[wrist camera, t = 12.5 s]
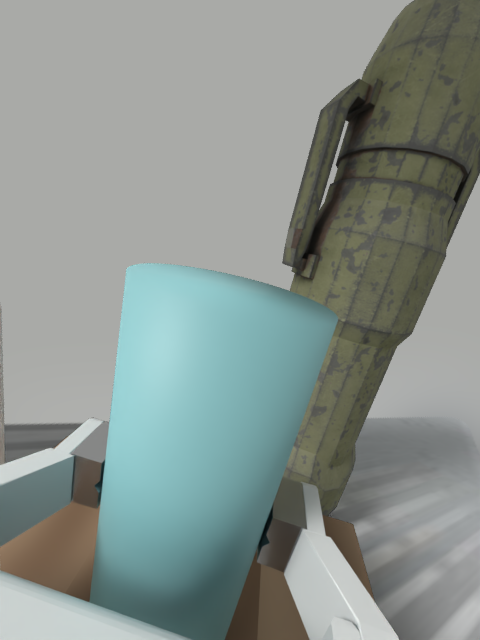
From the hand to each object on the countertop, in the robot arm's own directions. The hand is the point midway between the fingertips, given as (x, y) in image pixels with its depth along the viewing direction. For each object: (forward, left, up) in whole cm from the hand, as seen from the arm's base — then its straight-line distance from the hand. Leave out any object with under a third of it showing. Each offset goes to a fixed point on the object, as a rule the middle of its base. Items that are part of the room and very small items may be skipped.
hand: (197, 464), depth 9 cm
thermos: (+11, +10, -13) cm, 20 cm away
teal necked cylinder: (0, -1, -10) cm, 10 cm away
